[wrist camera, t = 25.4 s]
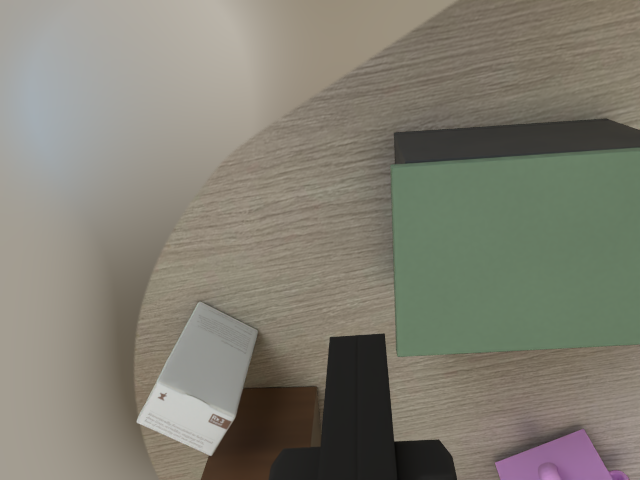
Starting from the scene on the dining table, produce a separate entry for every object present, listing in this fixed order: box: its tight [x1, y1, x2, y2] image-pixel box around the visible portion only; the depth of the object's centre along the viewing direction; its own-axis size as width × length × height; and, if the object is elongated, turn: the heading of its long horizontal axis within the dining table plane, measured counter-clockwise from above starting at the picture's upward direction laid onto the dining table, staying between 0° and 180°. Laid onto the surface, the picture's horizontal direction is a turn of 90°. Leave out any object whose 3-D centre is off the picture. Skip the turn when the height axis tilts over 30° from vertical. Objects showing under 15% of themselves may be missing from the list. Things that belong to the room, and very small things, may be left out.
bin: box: [394, 119, 640, 164], centre depth 38 cm, size 16×13×10 cm
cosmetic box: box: [137, 302, 258, 456], centre depth 43 cm, size 6×4×12 cm
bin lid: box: [390, 148, 640, 357], centre depth 33 cm, size 16×13×1 cm
